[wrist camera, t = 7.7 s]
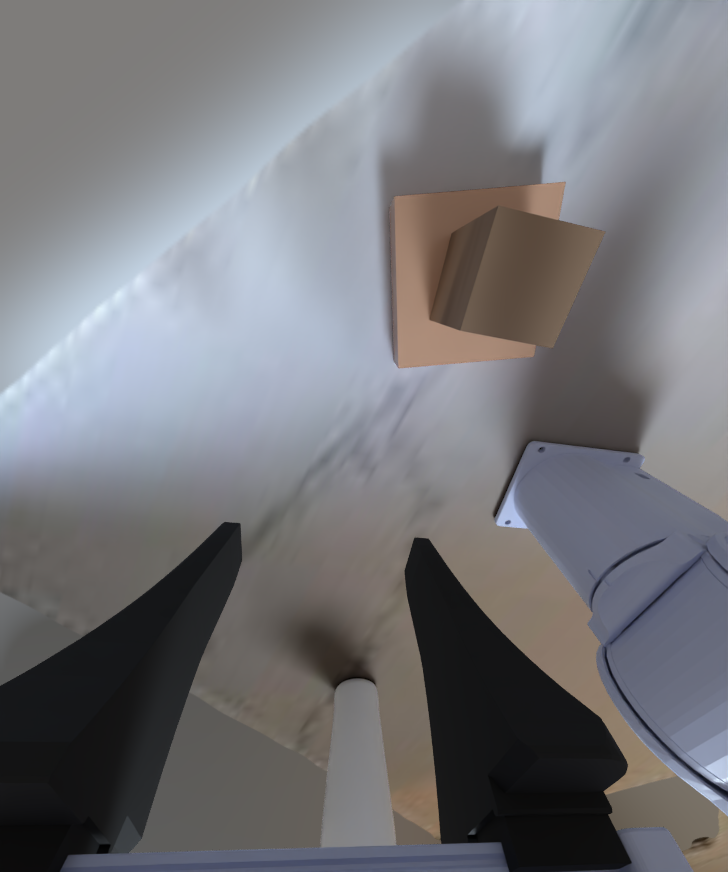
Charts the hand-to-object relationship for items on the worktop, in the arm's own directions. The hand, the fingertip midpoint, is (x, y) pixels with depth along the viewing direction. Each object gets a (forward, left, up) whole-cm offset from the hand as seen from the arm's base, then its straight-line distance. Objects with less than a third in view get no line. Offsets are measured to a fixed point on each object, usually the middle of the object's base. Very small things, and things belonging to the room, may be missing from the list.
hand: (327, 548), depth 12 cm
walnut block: (-6, -11, -8) cm, 15 cm away
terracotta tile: (-6, -11, -10) cm, 16 cm away
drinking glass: (-6, +34, -10) cm, 36 cm away
